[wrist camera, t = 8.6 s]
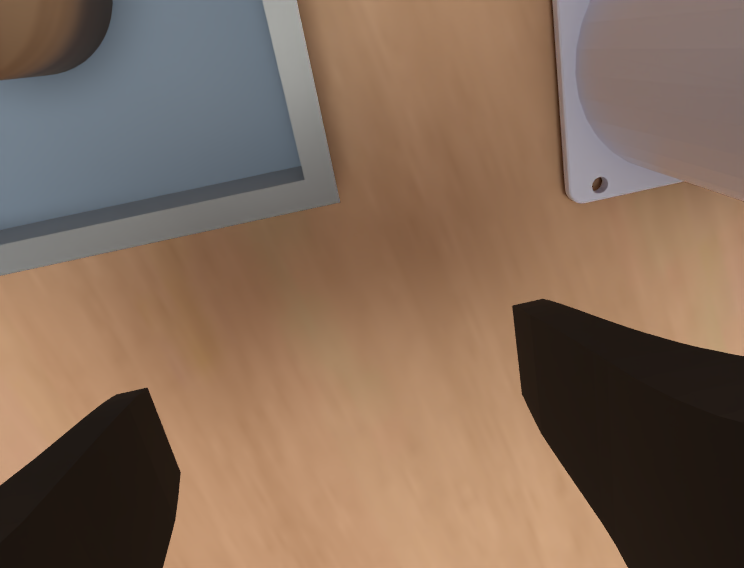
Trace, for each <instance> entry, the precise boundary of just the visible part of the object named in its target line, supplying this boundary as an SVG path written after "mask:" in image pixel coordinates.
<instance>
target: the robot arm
mask: <svg viewBox="0 0 744 568" xmlns="http://www.w3.org/2000/svg"><path fill="white" fill-rule="evenodd" d="M552 3H553V17H554V32H555V47H556V62H557V77H558V92H559V106H560V121H561V136H562V151H563V166H564V181H565V191H566V195H567V196H568V197H569V198H570V199H571V200H573V201H575V202H577V203H588V202H593V201H597V200H602V199H607V198H611V197H616V196H620V195H625V194H629V193H634V192H638V191H643V190H648V189H652V188H657V187H661V186H666V185H670V184H675V183H680V182H684V181H685V182H688V183H691V184H694V185H697V186H700V187H703V188H706V189H709V190H712V191H715V192H717V193H720V194H723V195H726V196H729V197H732V198H735V199H738V200H741V201H744V0H552ZM598 177H601V178H602V185H601V186H600V188H599V189H597V190H595V191H593V189H592V184H593V182H594V180H595V179H596V178H598ZM512 308H513V317H514V326H515V335H516V344H517V353H518V362H519V371H520V380H521V389H522V395H523V397H524V399H525V401H526V403H527V406H528V408H529V410H530V412H531V414H532V416H533V418H534V420H535V422H536V424H537V426H538V428H539V430H540V432H541V434H542V435H543V437H544V438H545V440H546V442H547V443H548V445H549V446H550V448H551V449H552V451H553V452H554V453H555V455H556V456H557V458H558V459H559V461H560V462H561V464H562V465H563V467H564V468H565V470H566V471H567V473H568V474H569V476H570V477H571V478H572V480H573V481H574V483H575V484H576V486H577V487H578V489H579V490H580V492H581V493H582V494H583V496H584V497H585V499H586V500H587V502H588V503H589V505H590V506H591V508H592V509H593V510H594V512H595V513H596V515H597V516H598V518H599V519H600V521H601V522H602V524H603V525H604V527H605V528H606V530H607V532H608V533H609V535H610V537H611V538H612V540H613V541H614V543H615V545H616V546H617V548H618V550H619V552H620V554H621V556H622V557H623V559H624V561H625V563H626V565H627V567H628V568H744V356H739V355H733V354H728V353H724V352H719V351H714V350H709V349H704V348H700V347H695V346H691V345H687V344H683V343H679V342H675V341H671V340H668V339H664V338H661V337H658V336H654V335H651V334H647V333H644V332H641V331H637V330H634V329H631V328H628V327H625V326H622V325H619V324H616V323H613V322H610V321H608V320H605V319H602V318H599V317H596V316H593V315H591V314H588V313H585V312H582V311H580V310H577V309H574V308H571V307H568V306H565V305H563V304H560V303H556V302H553V301H550V300H545V299H540V300H536V301H531V302H527V303H522V304H518V305H513V306H512ZM180 473H181V472H180V470H179V467H178V465H177V462H176V460H175V457H174V454H173V452H172V449H171V447H170V444H169V442H168V439H167V437H166V434H165V431H164V429H163V426H162V424H161V421H160V419H159V416H158V413H157V411H156V408H155V406H154V403H153V401H152V398H151V395H150V393H149V390H148V388H144V389H139V390H135V391H130V392H126V393H121V394H117V395H115V396H113V397H111V398H110V399H108V400H107V401H105V402H104V403H103V404H101V405H100V406H99V407H97V408H96V409H95V410H93V411H92V412H91V413H90V414H88V415H87V416H86V417H85V418H83V419H82V420H81V421H80V422H79V423H77V424H76V425H75V426H74V427H73V428H71V429H70V430H69V431H68V432H66V433H65V434H64V435H63V436H62V437H60V438H59V439H58V440H57V441H56V442H54V443H53V444H52V445H51V446H50V447H48V448H47V449H46V450H45V451H44V452H42V453H41V454H40V455H39V456H37V457H36V458H35V459H34V460H32V461H31V462H30V463H29V464H27V465H26V466H25V467H23V468H22V469H21V470H20V471H18V472H17V473H16V474H14V475H13V476H12V477H11V478H9V479H8V480H7V481H5V482H4V483H3V484H2V485H0V568H163V565H164V561H165V557H166V554H167V550H168V546H169V542H170V538H171V535H172V531H173V527H174V523H175V517H176V510H177V502H178V494H179V483H180Z"/></svg>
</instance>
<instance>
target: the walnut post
mask: <svg viewBox="0 0 744 568" xmlns="http://www.w3.org/2000/svg"><path fill="white" fill-rule="evenodd" d="M112 7H113V0H0V80H9V79H18V78H27V77H37V76H46V75H54V74H59V73H62V72H66V71H68V70H70V69H73V68H75V67H77V66H78V65H80V64H82V63H83V62H85V61H86V60H87V59H88V58H89V57H90V56H91V55H92V54H93V53H94V52H95V51H96V50H97V48H98V47H99V46H100V44H101V42H102V41H103V39H104V37H105V35H106V33H107V30H108V28H109V24H110V20H111V15H112Z"/></svg>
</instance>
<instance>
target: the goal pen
mask: <svg viewBox="0 0 744 568" xmlns="http://www.w3.org/2000/svg"><path fill="white" fill-rule="evenodd" d="M335 203H340V199H339V195H338V190H337V185H336V181H335V176H334V171H333V167H332V162H331V157H330V153H329V148H328V144H327V139H326V134H325V130H324V125H323V120H322V116H321V111H320V106H319V102H318V97H317V93H316V88H315V83H314V79H313V74H312V69H311V65H310V60H309V55H308V51H307V46H306V42H305V37H304V32H303V28H302V23H301V18H300V14H299V9H298V4H297V0H113V7H112V15H111V20H110V24H109V28H108V30H107V33H106V35H105V37H104V39H103V41H102V42H101V44H100V46H99V47H98V48H97V50H96V51H95V52H94V53H93V54H92V55H91V56H90V57H89V58H88V59H87V60H86V61H85V62H83V63H82V64H80V65H78V66H77V67H75V68H73V69H70V70H68V71H66V72H62V73H59V74H54V75H46V76H37V77H27V78H18V79H9V80H0V276H1V275H6V274H10V273H15V272H20V271H24V270H29V269H34V268H38V267H43V266H47V265H52V264H57V263H61V262H66V261H71V260H75V259H80V258H85V257H89V256H94V255H98V254H103V253H108V252H112V251H117V250H122V249H126V248H131V247H136V246H140V245H145V244H149V243H154V242H159V241H163V240H168V239H173V238H177V237H182V236H187V235H191V234H196V233H200V232H205V231H210V230H214V229H219V228H224V227H228V226H233V225H238V224H242V223H247V222H251V221H256V220H261V219H265V218H270V217H275V216H279V215H284V214H289V213H293V212H298V211H302V210H307V209H312V208H316V207H321V206H326V205H330V204H335Z"/></svg>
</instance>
